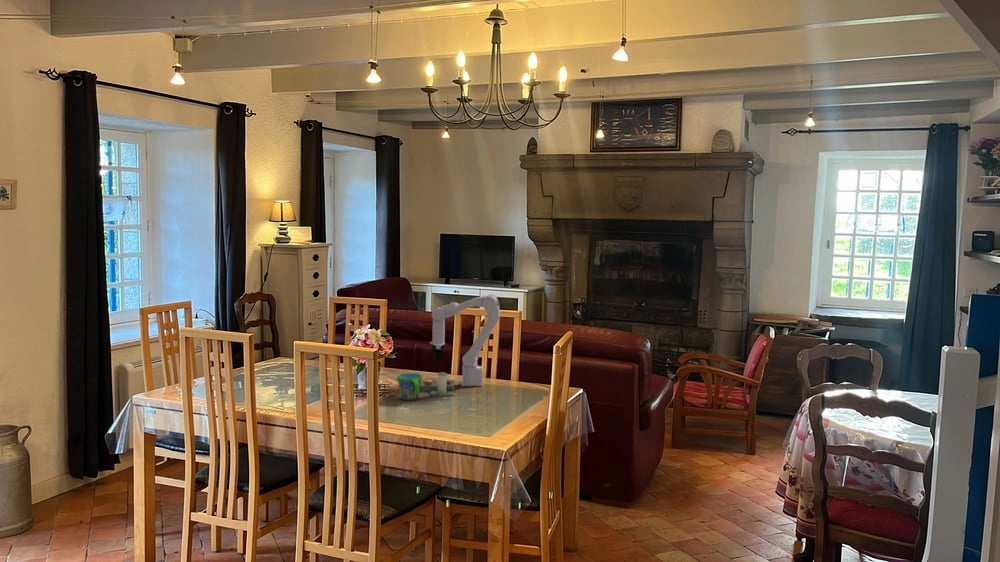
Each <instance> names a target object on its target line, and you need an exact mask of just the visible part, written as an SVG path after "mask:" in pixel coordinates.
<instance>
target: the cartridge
mask: <svg viewBox="0 0 1000 562" xmlns="http://www.w3.org/2000/svg"><path fill="white" fill-rule="evenodd" d="M447 375H448V373H447V372H443V371H439V372H437V380H438V389H437V393H438V394H446V389H447V380H448V379H447V378H448V377H447Z"/></svg>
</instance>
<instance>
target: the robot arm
mask: <svg viewBox="0 0 1000 562" xmlns="http://www.w3.org/2000/svg"><path fill="white" fill-rule="evenodd" d="M499 301H500V300H499V299H498V297H497V296H496V295H495V294H488V295H482V296H477V297H475V298H472V299H469V300H466V301H464V302H461V303H457V302H454V301H451V302H450V303H449V304H446V305H443V304H442V305H441V306H440V307H436V308H435V309H433V311H432V312H431V317H432V339H431V340H432V341H430V342H429V344H430V345H432V348H431V350H432V352H433V355H434V360H435V361H434V362H435V363H436V364H441V362H442V356H443V353H444V351H445V348H444V347H445V345H446V342H445V339H446V338H445V337H446V335H445V331H446V328H445V327H446V323H445V320H446V319H447V318H450V317H454V316H456V315H460V313H461V311H463V310H467V309H470V308H474V307H479V308H484V310H485V311H486V313H487V316H488V319H487V320H486V321H485V323H484V325H483V327H482V329H481V330H480V332H479V333H478V335H477V337H476V339H475V340H474V341H473V344H472V346H470V348H469V350H468V351H466V353H465V354H464V355H463V356H462V359H461V362H462V368H461V369H462V370H461V371H462V372H461V373H462V376H461V377H462V379H461V387H482V386H483V384H482V383H483V366H482V365H479V364H478V363H477V362H478V360H479V354H480V352H481V350H482V349H483V347H484V345H485V344H486V342H487V341H488V339H489V337H490V335H491V333H492V332H493V330H494V328H495V327H496V325H497V324H498V321H499V320H500V318H501V315H500V314H501V313H500V312H501V311H500V302H499ZM445 318H446V319H445Z"/></svg>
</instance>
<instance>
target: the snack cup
mask: <svg viewBox="0 0 1000 562" xmlns="http://www.w3.org/2000/svg"><path fill="white" fill-rule="evenodd" d="M396 378H397V381H398V388H399V396H400V399H401V400H403V401H416V400H417V399H419V396H420V394H421V384H422V380H423V376H422V375H421V374H419V373H401V374H399V375H398V374H397V376H396Z"/></svg>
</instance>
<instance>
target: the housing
mask: <svg viewBox="0 0 1000 562" xmlns="http://www.w3.org/2000/svg"><path fill="white" fill-rule="evenodd" d="M424 380H425V379H422V380H421V383H420V393H421V392H425V393H428V392H429V393H431V391H437V389H438V379H431V380H432V382H431V384H425V382H424ZM446 391H453V393H454V392H455V380H454V379H453V380H452V379H451V380H450V379H447V389H446Z"/></svg>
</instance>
